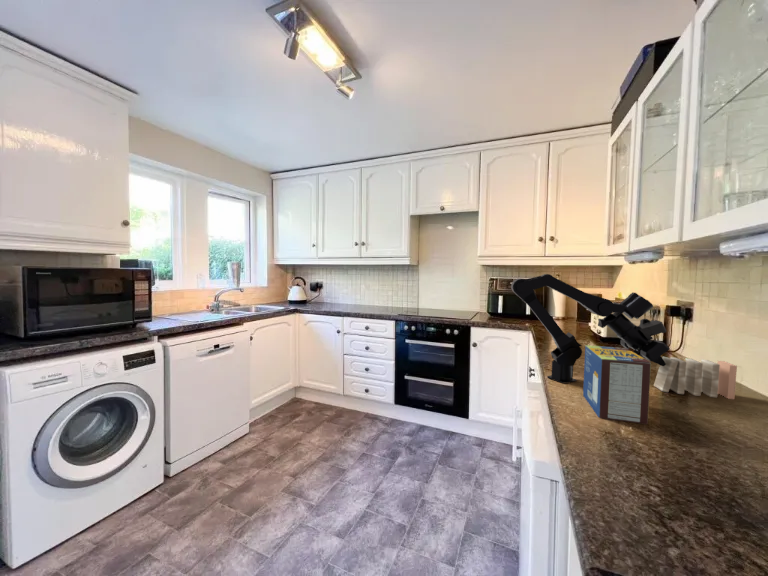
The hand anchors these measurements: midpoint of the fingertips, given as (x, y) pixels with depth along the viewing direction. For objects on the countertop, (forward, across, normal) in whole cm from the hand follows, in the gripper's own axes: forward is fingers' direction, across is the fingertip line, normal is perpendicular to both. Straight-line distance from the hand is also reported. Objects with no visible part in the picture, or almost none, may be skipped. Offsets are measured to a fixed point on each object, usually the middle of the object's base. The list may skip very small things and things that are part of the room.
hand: (664, 365), depth 99 cm
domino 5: (+17, 0, -5) cm, 17 cm away
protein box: (-9, -21, +21) cm, 31 cm away
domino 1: (+5, 0, +6) cm, 8 cm away
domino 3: (+11, 0, 0) cm, 11 cm away
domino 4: (+14, 0, -2) cm, 14 cm away
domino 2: (+8, 0, +3) cm, 9 cm away
